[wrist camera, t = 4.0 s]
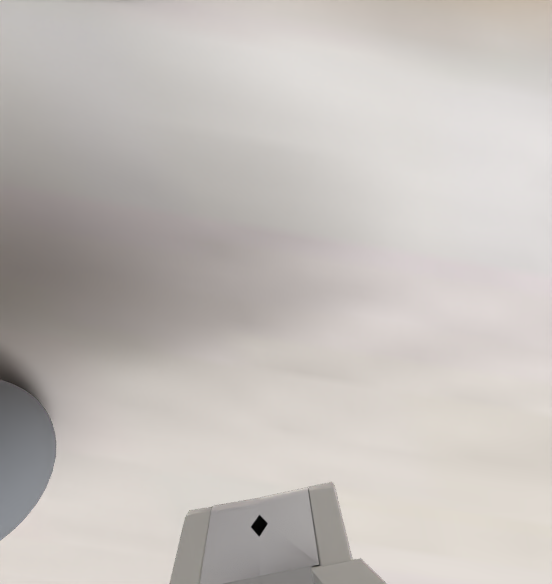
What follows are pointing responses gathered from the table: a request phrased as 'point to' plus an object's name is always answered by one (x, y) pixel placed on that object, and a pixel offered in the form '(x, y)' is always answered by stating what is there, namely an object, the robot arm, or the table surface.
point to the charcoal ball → (22, 454)
